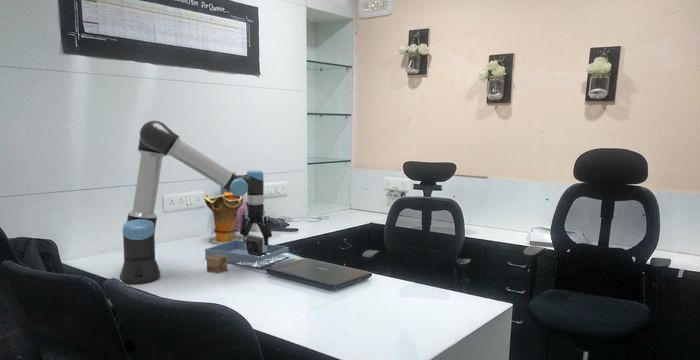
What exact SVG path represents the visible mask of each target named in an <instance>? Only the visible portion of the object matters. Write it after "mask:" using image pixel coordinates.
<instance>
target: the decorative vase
mask: <svg viewBox="0 0 700 360" xmlns="http://www.w3.org/2000/svg"><path fill="white" fill-rule="evenodd" d="M202 199H203V200H204V202H205V203H206V207H207V208H208V209H209V210H210V211H212V212H213V213H212V214H213V219H214V220H213V221H214V227H215V228H214V230H213V232H214V233H215V236H216V237H214V238H211V237H210V239H209V240H208V242H209V243H211V244H216V245H220V244H224V243H227V242H230V241H234V240H241V241H243V239H242V238H240V237H235V234H236V231H237V228H236V227H237V215H238V211H239V210H240V208H241V207H242V205H243V201H244V195H243V196H235V195H233V194H232V193H231V192H223V194H221V195H216V196H210V194H209V193H206V194H203V196H202ZM213 232H212V233H211V235H213Z"/></svg>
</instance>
